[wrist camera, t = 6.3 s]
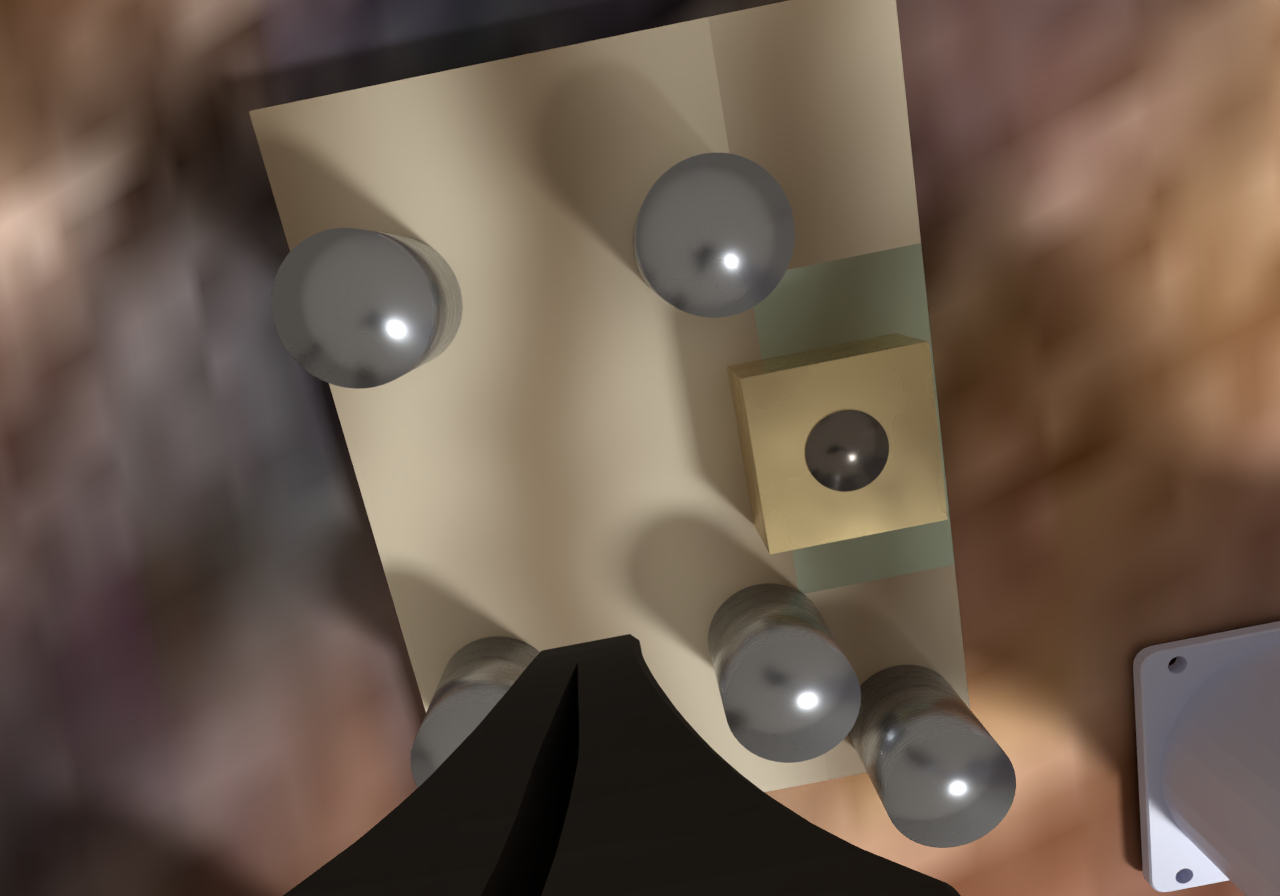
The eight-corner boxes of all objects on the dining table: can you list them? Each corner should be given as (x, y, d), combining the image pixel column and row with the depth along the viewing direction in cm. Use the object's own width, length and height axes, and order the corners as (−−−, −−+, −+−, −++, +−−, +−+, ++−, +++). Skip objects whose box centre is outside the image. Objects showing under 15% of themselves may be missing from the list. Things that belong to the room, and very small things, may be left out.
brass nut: (894, 333, 18) (929, 341, 16) (913, 493, 19) (948, 520, 17) (727, 366, 18) (741, 378, 16) (753, 524, 19) (770, 555, 17)
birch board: (874, -3, 17) (893, -22, 16) (955, 725, 22) (974, 751, 21) (272, 121, 18) (249, 110, 16) (474, 818, 22) (466, 849, 21)
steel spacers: (895, 130, 17) (954, 102, 14) (963, 754, 21) (1020, 834, 18) (312, 248, 17) (250, 245, 14) (484, 846, 21) (462, 940, 18)
